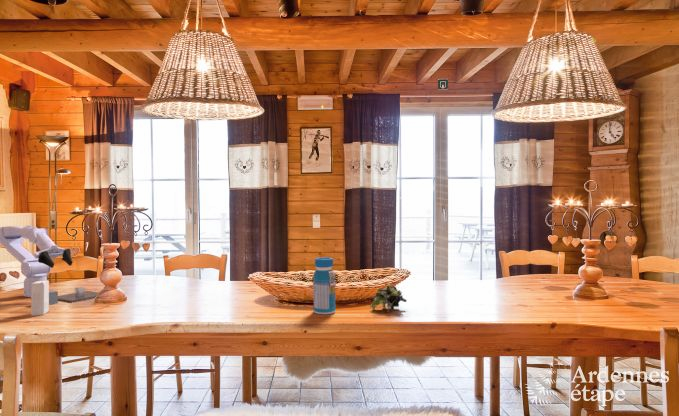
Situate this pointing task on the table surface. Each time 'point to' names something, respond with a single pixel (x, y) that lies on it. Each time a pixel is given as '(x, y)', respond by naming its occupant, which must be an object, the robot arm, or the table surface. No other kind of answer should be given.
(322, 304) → the beverage bottle
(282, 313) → the table surface
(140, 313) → the table surface
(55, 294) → the grey cube
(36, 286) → the skincare box
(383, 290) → the green leafy plant
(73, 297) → the dark grey flat block
